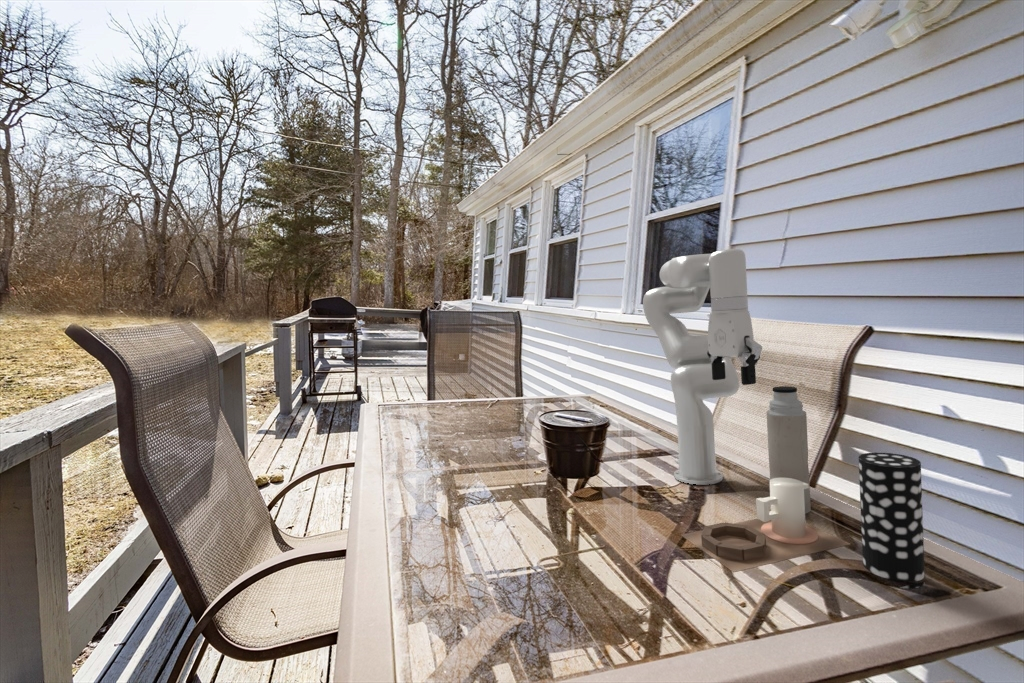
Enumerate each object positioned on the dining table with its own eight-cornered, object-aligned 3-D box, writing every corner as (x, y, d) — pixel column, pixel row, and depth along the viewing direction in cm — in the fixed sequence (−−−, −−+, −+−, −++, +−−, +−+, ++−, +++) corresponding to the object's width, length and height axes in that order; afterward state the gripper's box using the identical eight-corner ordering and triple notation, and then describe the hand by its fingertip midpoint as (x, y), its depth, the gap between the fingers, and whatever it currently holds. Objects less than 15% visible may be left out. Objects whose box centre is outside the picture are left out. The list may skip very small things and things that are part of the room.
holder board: (680, 540, 102) (679, 525, 102) (784, 518, 108) (783, 503, 108) (733, 578, 86) (732, 560, 86) (851, 550, 93) (850, 533, 93)
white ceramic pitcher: (794, 521, 103) (791, 474, 103) (818, 533, 97) (816, 483, 97) (750, 531, 100) (748, 483, 100) (773, 543, 95) (770, 492, 94)
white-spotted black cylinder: (911, 565, 86) (907, 453, 85) (934, 591, 79) (930, 468, 78) (856, 560, 89) (851, 452, 88) (872, 585, 81) (868, 466, 80)
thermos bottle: (803, 500, 117) (797, 383, 115) (816, 514, 109) (811, 389, 108) (766, 500, 118) (760, 385, 117) (777, 514, 111) (771, 390, 109)
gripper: (691, 308, 118) (695, 379, 119) (742, 305, 101) (746, 388, 102) (718, 306, 120) (722, 376, 120) (772, 302, 103) (776, 384, 104)
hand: (733, 381), depth 111 cm, fingers open, 9 cm apart
